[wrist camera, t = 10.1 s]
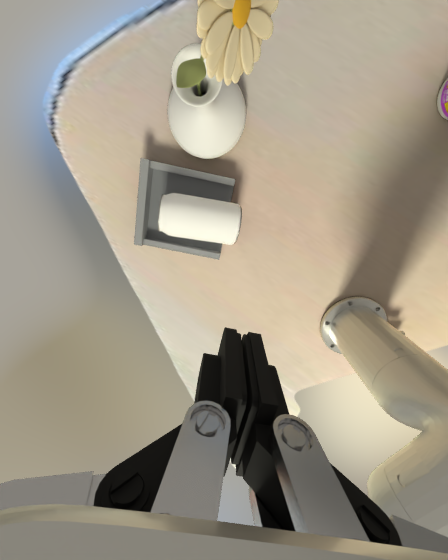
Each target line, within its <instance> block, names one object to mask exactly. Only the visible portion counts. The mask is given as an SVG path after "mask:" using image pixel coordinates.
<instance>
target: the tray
mask: <svg viewBox="0 0 448 560" xmlns="http://www.w3.org/2000/svg"><path fill="white" fill-rule="evenodd" d="M234 184H235V179H232V178H228V177H223V176H219V175H214V174H210V173H205V172H200V171H196V170H191V169H187V168H182V167H178V166H173V165H169V164H164V163H160V162H155V161H151V160H148V159H143V158H141V161H140V174H139V187H138V200H137V213H136V226H135V239H134V244H135V245H140V246H142V245H148V246H153V247H158V248H163V249H168V250H173V251H178V252H183V253H188V254H193V255H198V256H203V257H208V258H213V259H218V260H219V258H220V253H221V248H222V243H215V242H208V241H201V240H194V239H188V238H181V237H174V236H169V235H167V234H166V233H164V232H162V231H160V232H159V231H158V210H159V203H160V198H161V195H162V194H164V195H167V194H170V193H178V194H184V195H190V196H196V197H202V198H208V199H213V200H219V201H225V202H230V203H231V198H232V193H233V188H234Z"/></svg>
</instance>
